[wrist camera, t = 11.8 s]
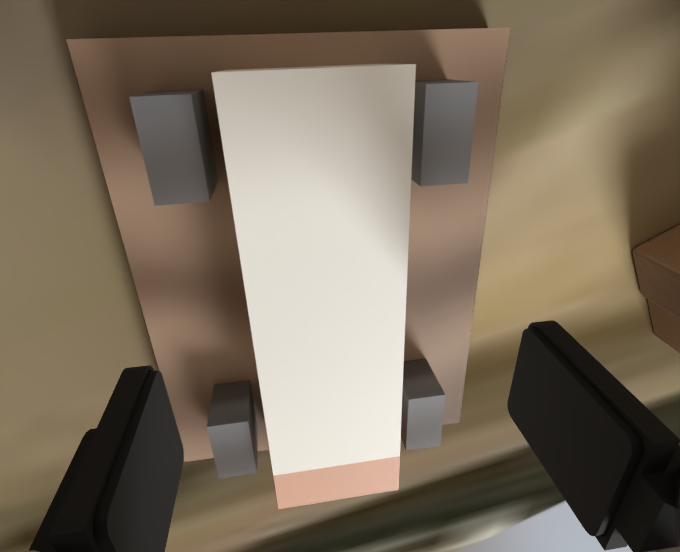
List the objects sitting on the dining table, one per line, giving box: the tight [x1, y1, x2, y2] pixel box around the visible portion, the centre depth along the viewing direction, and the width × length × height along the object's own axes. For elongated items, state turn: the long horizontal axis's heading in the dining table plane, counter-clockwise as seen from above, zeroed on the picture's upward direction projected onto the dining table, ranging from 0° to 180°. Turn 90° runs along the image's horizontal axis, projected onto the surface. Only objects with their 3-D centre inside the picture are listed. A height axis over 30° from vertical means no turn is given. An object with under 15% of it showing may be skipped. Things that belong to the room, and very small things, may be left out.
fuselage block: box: [211, 64, 416, 509], centre depth 16 cm, size 16×5×4 cm, turn 2°
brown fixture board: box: [66, 28, 510, 479], centre depth 17 cm, size 18×14×4 cm
